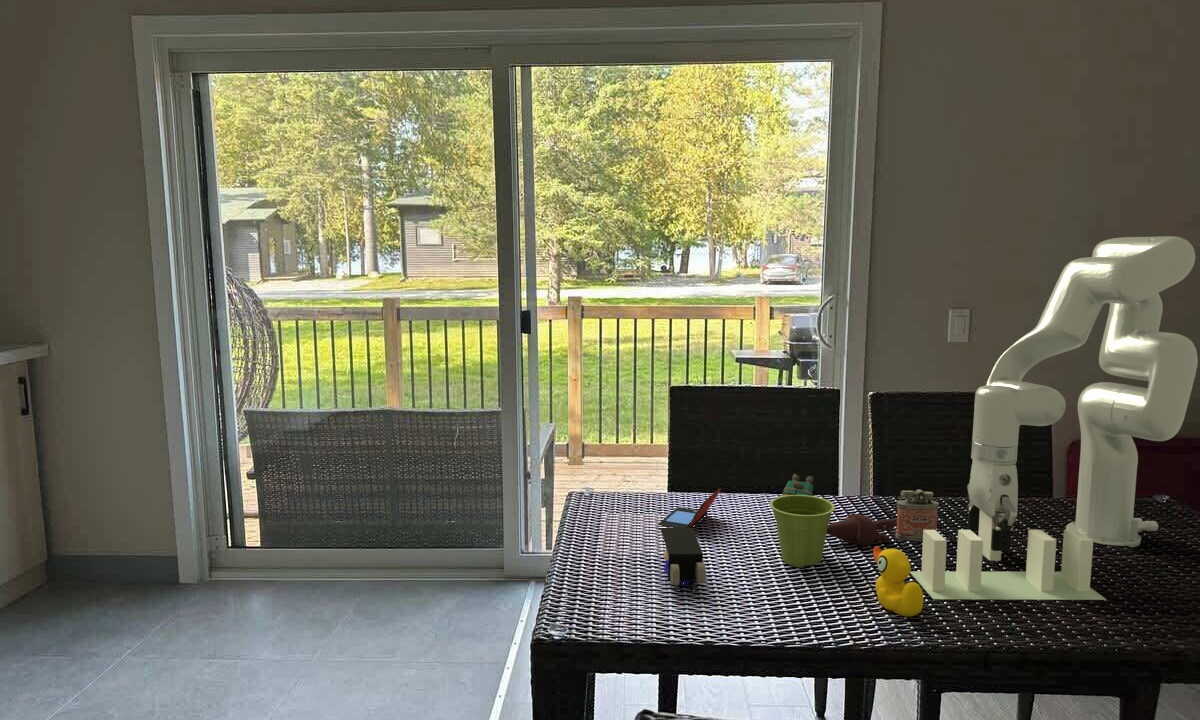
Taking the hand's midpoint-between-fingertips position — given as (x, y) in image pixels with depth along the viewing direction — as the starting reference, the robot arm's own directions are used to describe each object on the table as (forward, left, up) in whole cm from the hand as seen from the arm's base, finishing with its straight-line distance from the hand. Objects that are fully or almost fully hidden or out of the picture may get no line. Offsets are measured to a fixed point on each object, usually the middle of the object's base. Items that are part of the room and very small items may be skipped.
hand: (987, 540), depth 142 cm
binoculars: (+31, -21, -4) cm, 38 cm away
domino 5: (-9, +13, -3) cm, 16 cm away
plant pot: (+35, +1, -4) cm, 35 cm away
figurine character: (+58, +9, -4) cm, 59 cm away
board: (+3, +13, -4) cm, 14 cm away
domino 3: (0, 0, -4) cm, 4 cm away
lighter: (+9, -11, -4) cm, 15 cm away
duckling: (+24, +21, -4) cm, 32 cm away
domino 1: (+15, +13, -3) cm, 20 cm away
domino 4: (-3, +13, -3) cm, 13 cm away
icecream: (+23, -6, -4) cm, 24 cm away
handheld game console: (+55, -20, -4) cm, 58 cm away
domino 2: (+9, +13, -3) cm, 16 cm away
